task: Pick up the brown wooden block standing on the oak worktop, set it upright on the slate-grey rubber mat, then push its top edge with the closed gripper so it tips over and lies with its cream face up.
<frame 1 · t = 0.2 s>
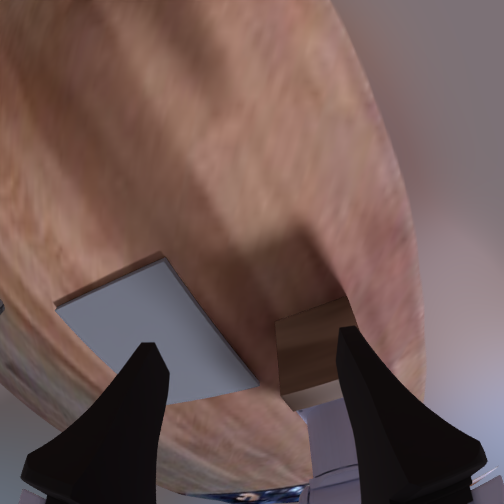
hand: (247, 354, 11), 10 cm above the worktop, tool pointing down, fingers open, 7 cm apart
rubber mat: (157, 350, 26), on the worktop
brown wooden block: (315, 319, 24), on the worktop
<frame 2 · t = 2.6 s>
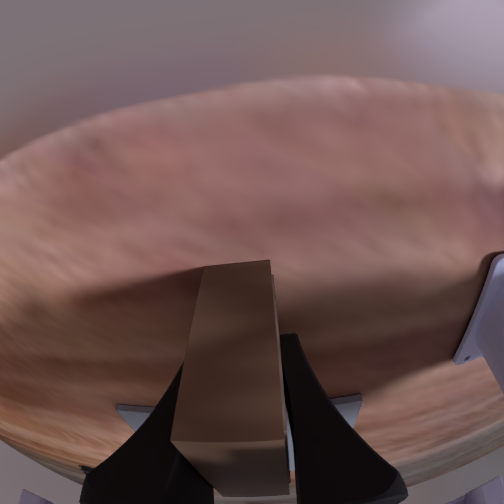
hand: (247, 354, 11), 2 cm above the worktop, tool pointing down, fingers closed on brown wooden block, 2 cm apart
rubber mat: (246, 445, 20), on the worktop
brown wooden block: (247, 320, 13), on the worktop, touching gripper
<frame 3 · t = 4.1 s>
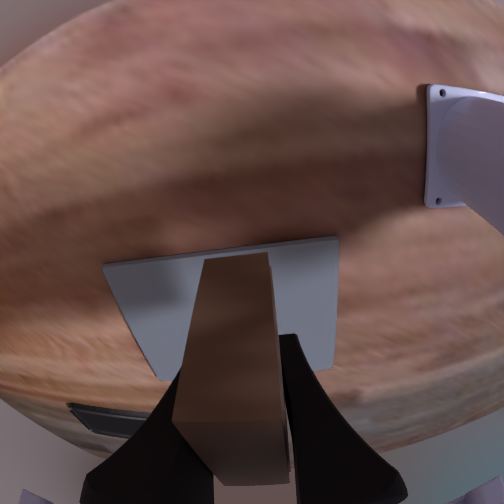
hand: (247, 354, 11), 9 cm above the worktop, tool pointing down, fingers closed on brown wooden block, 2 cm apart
phone: (124, 420, 34), on the worktop
rubber mat: (229, 323, 23), on the worktop
brown wooden block: (246, 312, 14), point 6 cm above the worktop, touching gripper
when the fingers open (4 cm above the worktop, at t = 6.1 s): brown wooden block stays where it is, resting on rubber mat.
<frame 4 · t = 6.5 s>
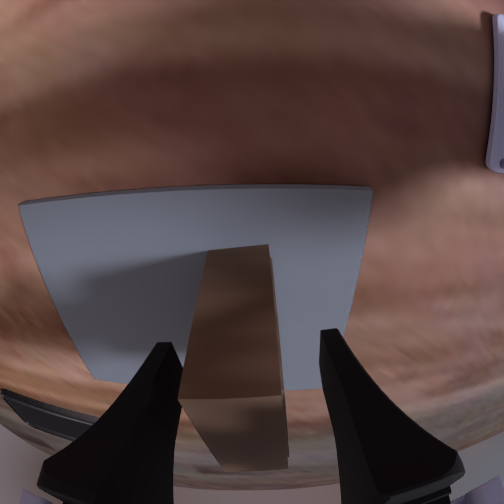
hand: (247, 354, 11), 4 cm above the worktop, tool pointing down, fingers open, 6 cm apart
phone: (62, 417, 25), on the worktop
rubber mat: (189, 311, 15), on the worktop
brown wooden block: (247, 303, 14), resting on rubber mat
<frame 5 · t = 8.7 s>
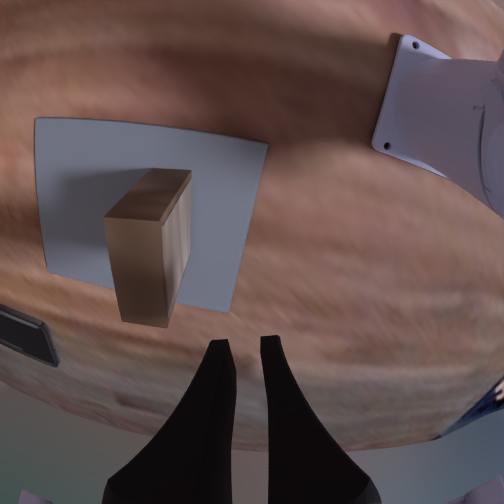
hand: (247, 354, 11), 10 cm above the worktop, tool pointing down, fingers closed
phone: (10, 323, 28), on the worktop
rubber mat: (131, 216, 20), on the worktop
brown wooden block: (171, 213, 19), resting on rubber mat
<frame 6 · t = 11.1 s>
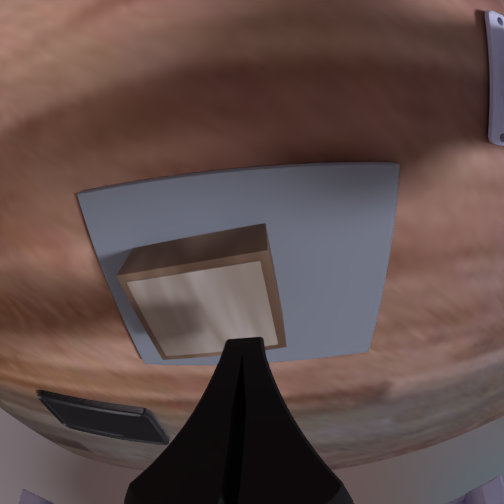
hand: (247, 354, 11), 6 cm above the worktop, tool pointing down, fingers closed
phone: (102, 414, 28), on the worktop
rubber mat: (245, 283, 17), on the worktop
brown wooden block: (276, 288, 15), point 2 cm above the worktop, tilted 90°, touching rubber mat
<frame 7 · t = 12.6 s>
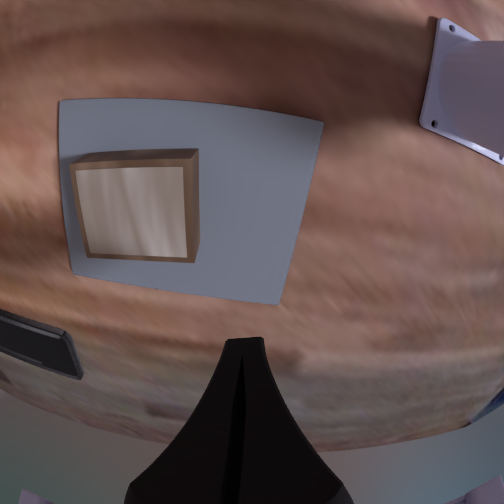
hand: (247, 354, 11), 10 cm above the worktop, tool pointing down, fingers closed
phone: (27, 336, 27), on the worktop
rubber mat: (172, 204, 19), on the worktop
brown wooden block: (195, 205, 17), point 2 cm above the worktop, tilted 90°, touching rubber mat
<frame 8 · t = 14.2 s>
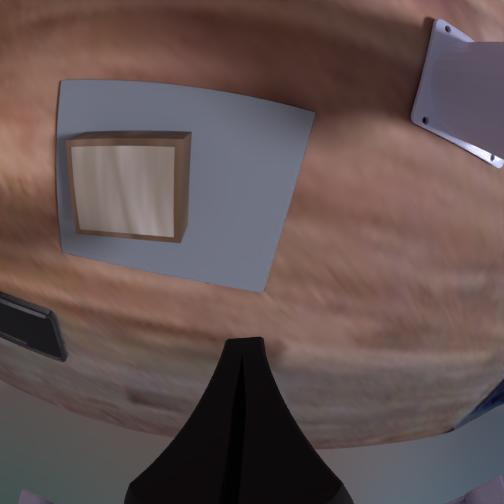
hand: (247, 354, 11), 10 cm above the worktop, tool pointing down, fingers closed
phone: (14, 315, 26), on the worktop
rubber mat: (163, 186, 19), on the worktop
brown wooden block: (185, 186, 17), point 2 cm above the worktop, tilted 90°, touching rubber mat
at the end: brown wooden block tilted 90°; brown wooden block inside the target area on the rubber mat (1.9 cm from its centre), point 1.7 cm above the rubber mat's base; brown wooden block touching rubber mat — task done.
